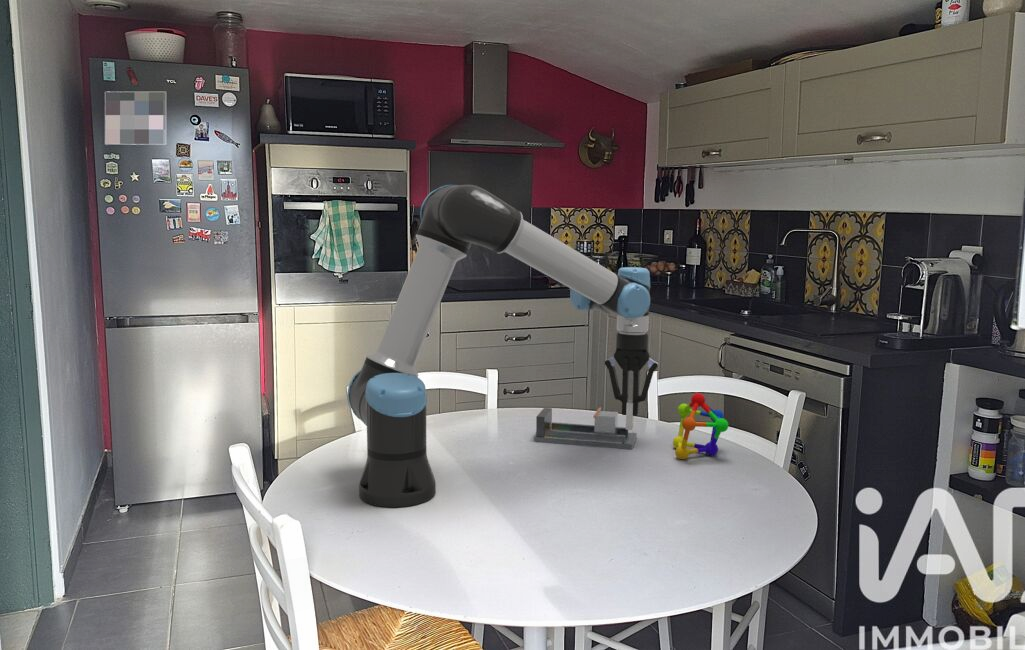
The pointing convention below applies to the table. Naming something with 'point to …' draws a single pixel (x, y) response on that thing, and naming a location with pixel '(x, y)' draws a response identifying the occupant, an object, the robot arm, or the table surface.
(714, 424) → the educational toy
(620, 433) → the base
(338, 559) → the table surface
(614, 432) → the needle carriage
